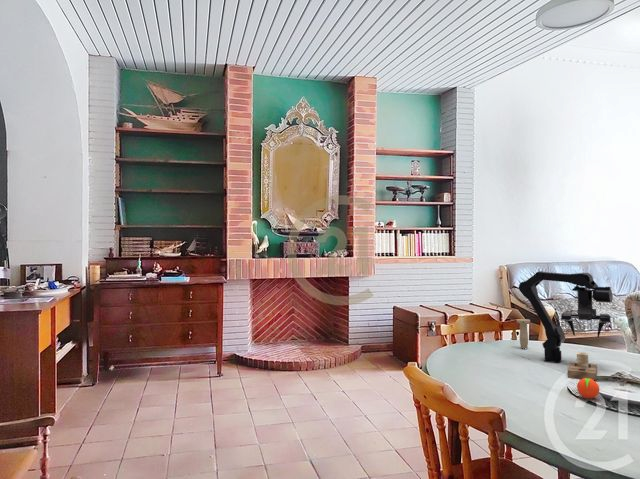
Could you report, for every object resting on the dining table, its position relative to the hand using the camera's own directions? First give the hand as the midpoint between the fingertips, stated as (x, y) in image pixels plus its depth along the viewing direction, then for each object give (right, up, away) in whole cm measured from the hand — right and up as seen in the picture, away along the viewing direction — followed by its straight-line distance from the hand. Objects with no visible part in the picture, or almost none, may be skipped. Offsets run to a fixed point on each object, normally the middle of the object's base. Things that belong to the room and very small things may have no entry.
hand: (586, 336), depth 207 cm
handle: (-12, -14, +35) cm, 39 cm away
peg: (-7, -13, -10) cm, 18 cm away
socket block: (-9, -13, -13) cm, 21 cm away
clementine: (-23, -13, -42) cm, 50 cm away
